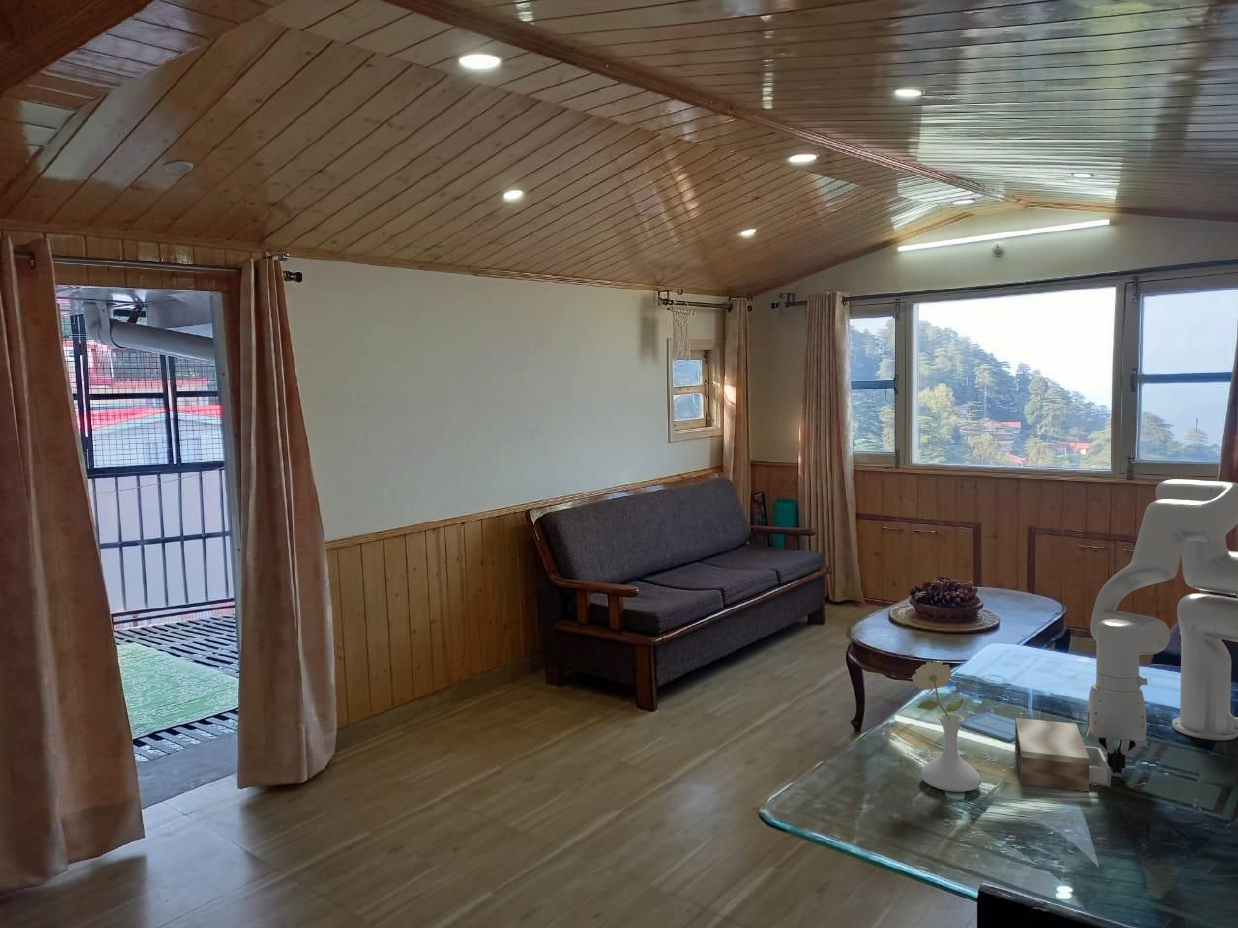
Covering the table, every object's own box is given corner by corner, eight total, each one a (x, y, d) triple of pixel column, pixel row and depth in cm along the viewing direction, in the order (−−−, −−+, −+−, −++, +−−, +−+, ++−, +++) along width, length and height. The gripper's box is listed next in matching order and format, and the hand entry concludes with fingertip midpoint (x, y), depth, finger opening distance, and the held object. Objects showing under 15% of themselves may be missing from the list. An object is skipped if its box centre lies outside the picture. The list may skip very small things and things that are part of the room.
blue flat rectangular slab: (1039, 732, 204) (1039, 727, 204) (1009, 744, 197) (1009, 738, 197) (987, 716, 215) (987, 711, 215) (956, 726, 209) (956, 721, 209)
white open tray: (1099, 763, 185) (1100, 747, 184) (1110, 787, 173) (1110, 769, 173) (1026, 756, 189) (1026, 740, 189) (1032, 778, 178) (1032, 761, 178)
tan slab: (1076, 754, 190) (1076, 723, 189) (1089, 792, 171) (1089, 758, 171) (1015, 747, 194) (1015, 717, 194) (1021, 783, 175) (1021, 750, 175)
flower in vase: (979, 777, 179) (980, 656, 178) (983, 800, 168) (984, 672, 167) (912, 769, 183) (912, 651, 182) (911, 792, 173) (911, 666, 171)
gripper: (1155, 679, 178) (1154, 768, 179) (1073, 673, 183) (1072, 759, 184) (1164, 690, 171) (1162, 783, 172) (1078, 684, 176) (1077, 773, 177)
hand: (1116, 770), depth 178 cm, fingers closed
